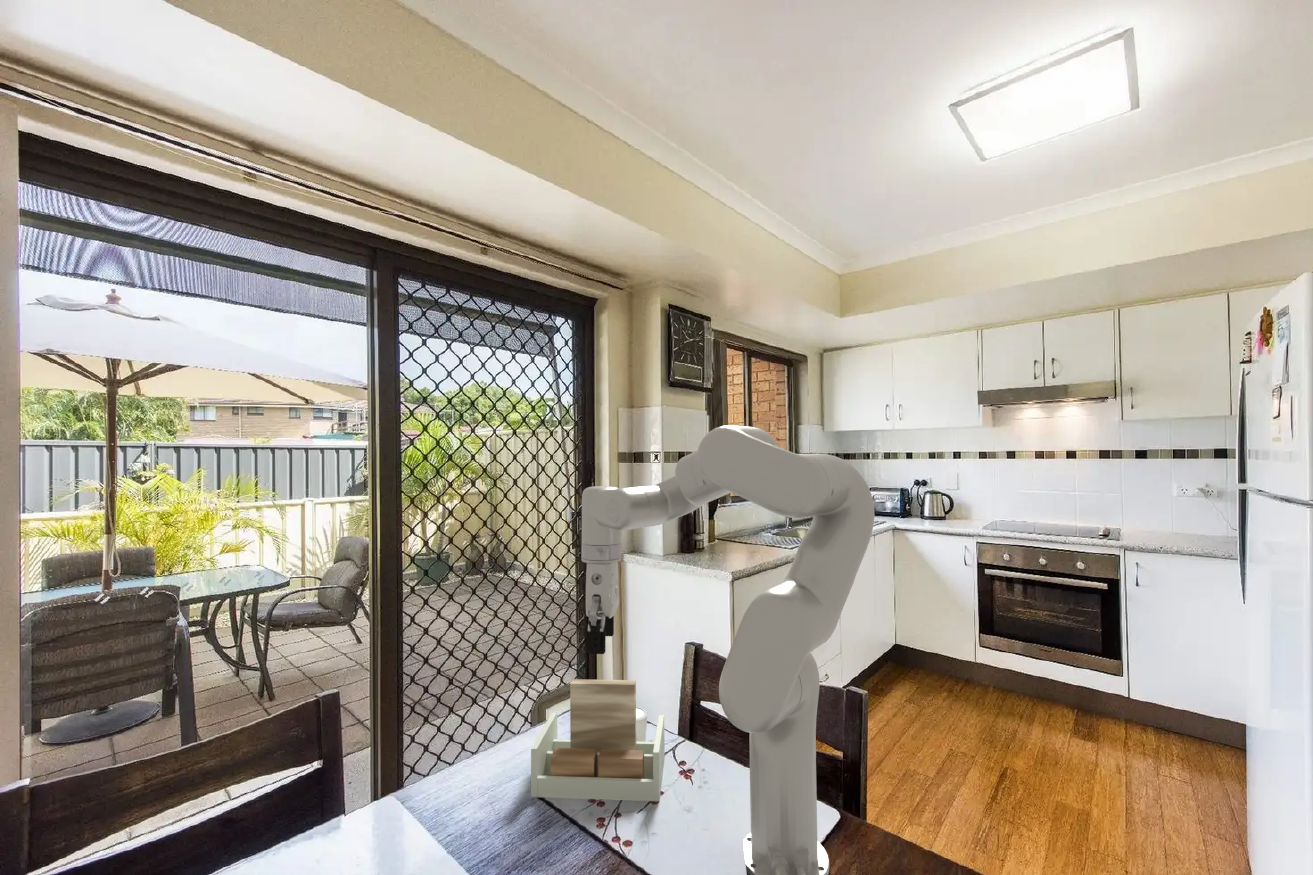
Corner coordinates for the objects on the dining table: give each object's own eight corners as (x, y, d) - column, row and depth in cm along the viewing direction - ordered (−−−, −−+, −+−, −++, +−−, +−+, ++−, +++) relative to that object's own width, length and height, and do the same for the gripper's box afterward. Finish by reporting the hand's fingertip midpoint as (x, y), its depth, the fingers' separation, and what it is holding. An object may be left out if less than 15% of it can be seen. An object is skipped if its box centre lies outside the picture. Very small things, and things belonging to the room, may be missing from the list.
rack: (659, 810, 95) (658, 752, 95) (531, 805, 96) (530, 748, 97) (664, 765, 109) (664, 714, 109) (552, 761, 110) (552, 712, 111)
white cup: (609, 753, 113) (609, 718, 113) (621, 737, 119) (621, 704, 120) (641, 758, 111) (641, 722, 111) (652, 742, 117) (652, 707, 118)
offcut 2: (642, 795, 96) (642, 759, 97) (598, 793, 97) (598, 758, 97) (644, 785, 99) (643, 750, 100) (601, 783, 100) (601, 749, 100)
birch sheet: (635, 773, 103) (634, 684, 104) (570, 771, 104) (570, 683, 104) (636, 767, 105) (635, 680, 106) (573, 765, 106) (572, 679, 106)
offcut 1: (594, 793, 97) (593, 757, 97) (550, 791, 98) (550, 756, 98) (597, 783, 100) (596, 748, 100) (555, 782, 101) (554, 747, 101)
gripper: (614, 561, 97) (614, 661, 97) (627, 545, 114) (626, 630, 114) (571, 560, 98) (570, 660, 97) (590, 544, 115) (590, 629, 114)
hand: (601, 644), depth 106 cm, fingers open, 9 cm apart
